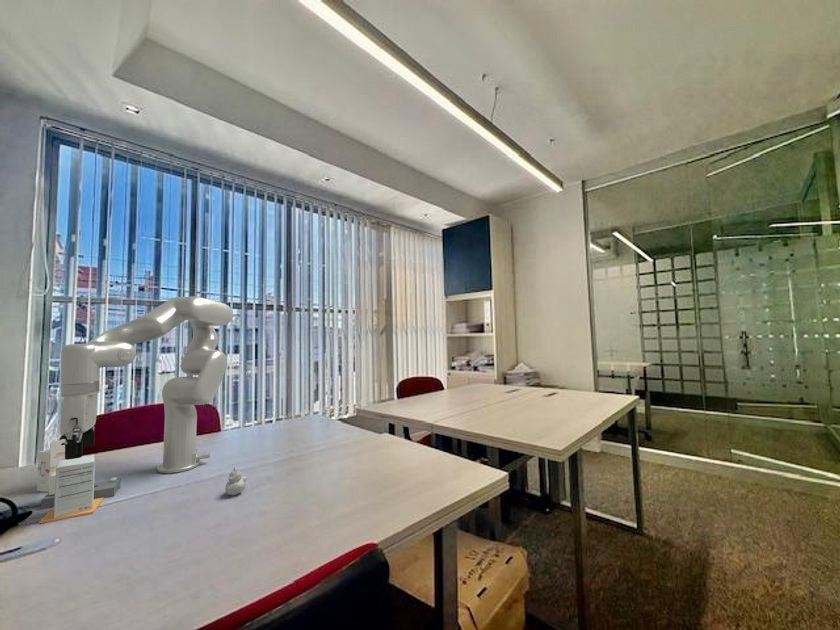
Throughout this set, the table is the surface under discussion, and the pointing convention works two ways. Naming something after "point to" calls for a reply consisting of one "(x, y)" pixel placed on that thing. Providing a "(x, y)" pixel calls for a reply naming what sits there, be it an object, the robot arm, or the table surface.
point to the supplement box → (74, 485)
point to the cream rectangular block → (52, 484)
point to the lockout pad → (50, 515)
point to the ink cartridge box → (49, 464)
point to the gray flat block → (100, 491)
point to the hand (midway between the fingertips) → (80, 452)
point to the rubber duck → (235, 483)
